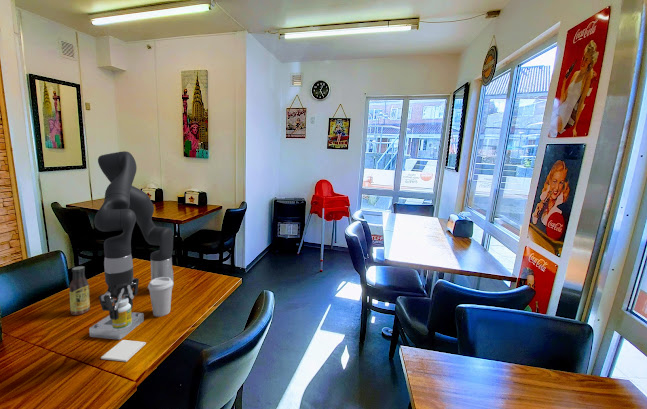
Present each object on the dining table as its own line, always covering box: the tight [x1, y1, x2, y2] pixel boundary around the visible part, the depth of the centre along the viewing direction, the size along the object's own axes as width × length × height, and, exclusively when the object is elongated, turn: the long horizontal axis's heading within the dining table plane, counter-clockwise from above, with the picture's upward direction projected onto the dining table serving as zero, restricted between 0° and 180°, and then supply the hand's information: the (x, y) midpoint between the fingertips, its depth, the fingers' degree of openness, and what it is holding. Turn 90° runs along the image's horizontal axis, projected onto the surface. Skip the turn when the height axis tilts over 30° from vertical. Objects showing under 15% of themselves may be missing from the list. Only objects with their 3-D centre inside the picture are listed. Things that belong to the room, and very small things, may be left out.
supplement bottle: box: [112, 296, 132, 330], centre depth 91 cm, size 5×5×10 cm
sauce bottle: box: [68, 265, 91, 316], centre depth 112 cm, size 7×6×20 cm
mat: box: [100, 339, 147, 363], centre depth 93 cm, size 9×9×1 cm
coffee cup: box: [147, 277, 174, 318], centre depth 116 cm, size 10×10×15 cm
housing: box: [88, 311, 145, 341], centre depth 104 cm, size 12×12×4 cm
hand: (121, 313), depth 91 cm, fingers closed on supplement bottle, 5 cm apart
